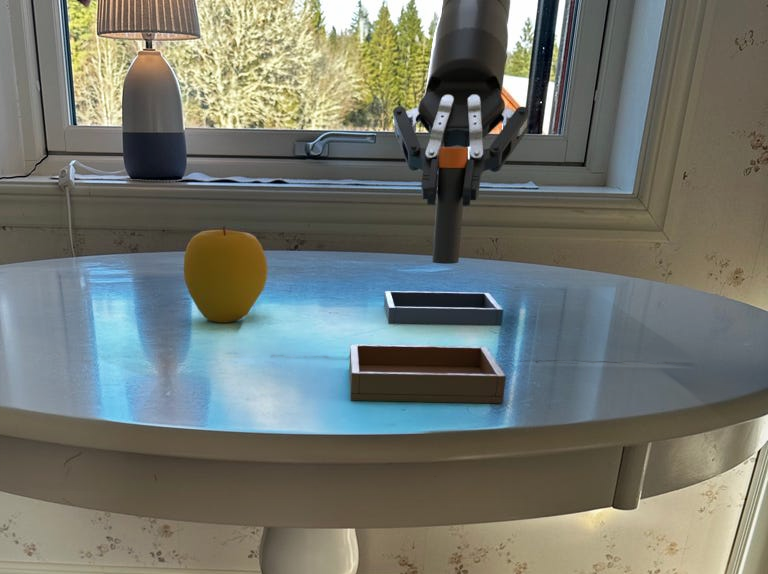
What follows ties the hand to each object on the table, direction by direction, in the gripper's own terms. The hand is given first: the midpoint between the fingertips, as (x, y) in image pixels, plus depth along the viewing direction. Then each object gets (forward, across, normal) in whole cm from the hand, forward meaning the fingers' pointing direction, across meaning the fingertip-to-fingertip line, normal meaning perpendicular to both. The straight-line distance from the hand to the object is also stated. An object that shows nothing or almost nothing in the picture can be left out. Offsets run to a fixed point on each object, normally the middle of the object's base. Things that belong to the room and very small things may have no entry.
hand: (448, 198), depth 92 cm
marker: (+3, 0, +6) cm, 6 cm away
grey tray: (+7, 0, +10) cm, 12 cm away
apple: (+11, -22, +6) cm, 25 cm away
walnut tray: (+27, +1, -10) cm, 29 cm away
